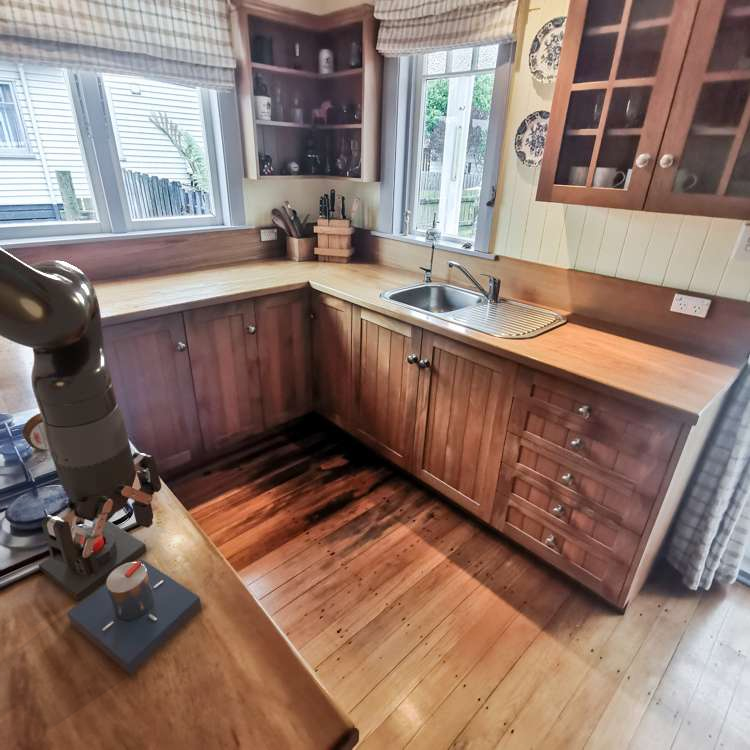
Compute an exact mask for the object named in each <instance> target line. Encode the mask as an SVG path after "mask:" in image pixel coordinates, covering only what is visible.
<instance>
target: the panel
mask: <svg viewBox="0 0 750 750" xmlns="http://www.w3.org/2000/svg"><path fill="white" fill-rule="evenodd" d="M137 561H139V562H141V564H143V565H144V566H145V567H146V570H147V574H148V578H149V582H150V585H151V589H152V593H153V597H154V600H153V604H152V606H151V607H150V609H149V610H148V611H147V612H146V613H145V614H143V615H142V616H140V617H138V618H136V619H132V620H122V619H120V618H118V617H117V616H116V614H115V611H114V608H113V605H112V602H111V599H110V596H109V593H108V589H107V586H106V583H104V585H101V586H100V587H99V589H98V588H97V589H96V590H95V591H93V592H92V593H91V594H89V595H88V596H87V597H85V598H84V599H83V600H82V601H80V603H78V605H76V606H74V607H72V609H71V610H69V611H68V612H67V613H66V614H67V616H68V620H69V622H70V624H71V626H72V627H74V628H75V629H76V630H77V631H79V632H80V633H81V634H82V635H83V636H85V638H87V639H88V640H89V641H90V642H92V644H93V645H95V646H96V647H98V648H99V649H100V650H101V651H102V652H103V653H104V654H106V655H107V656H108V657H109V658H110V659H111V660H113V661H114V662H115V663H116V664H118V665H119V666H120V667H121V668H122V669H123V670H124V671H126V672H127V673H128V674H129V675H130V676H132V675H133V674H134V673H136V672H137V670H138V669H139V668H140V667H142V666H143V665H144V664H145V663H146V662H147V661H148V660H149V659H150V658H151V657H152V656H153V655H154V654H155V653H156V652H157V651H159V649H161V648H162V647H163V646H164V645H165V644H166V643H167V642H168V641H169V640H170V639H171V638H172V637H173V636H174V635H175V634H177V632H179V630H180V629H182V627H184V625H186V624H187V623H188V622H189V621H190V620H191V619H192V618H193V617H195V615H196V614H197V613H198V612H199V611H200V610H201V609H202V602H201V597H200V596H199V595H197V594H196V593H194V592H193V591H191V590H190V589H188V588H187V587H185V586H184V585H182V584H181V583H179V582H177V581H176V580H174V579H173V578H172V577H171V576H168V574H165V573H164V572H163V571H161V570H160V569H158V568H157V567H155V566H154V565H152V564H151V563H150V562H147V561H146V560H144V559H143V558H142V557H139V558H137V559H136V560H135V562H137Z"/></svg>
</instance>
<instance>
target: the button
mask: <svg viewBox="0 0 750 750" xmlns="http://www.w3.org/2000/svg"><path fill="white" fill-rule="evenodd" d="M84 539H85V537H84V536H83V537H82V540H81V544H83V542H84ZM103 546H104V540H103V537H102V534H101V535H100V536H99V537H97V538H96V541H95V544H94V547H93V550H92V551H94V553H97V552H98V551H100V550H101V549H102V548H103Z"/></svg>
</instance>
